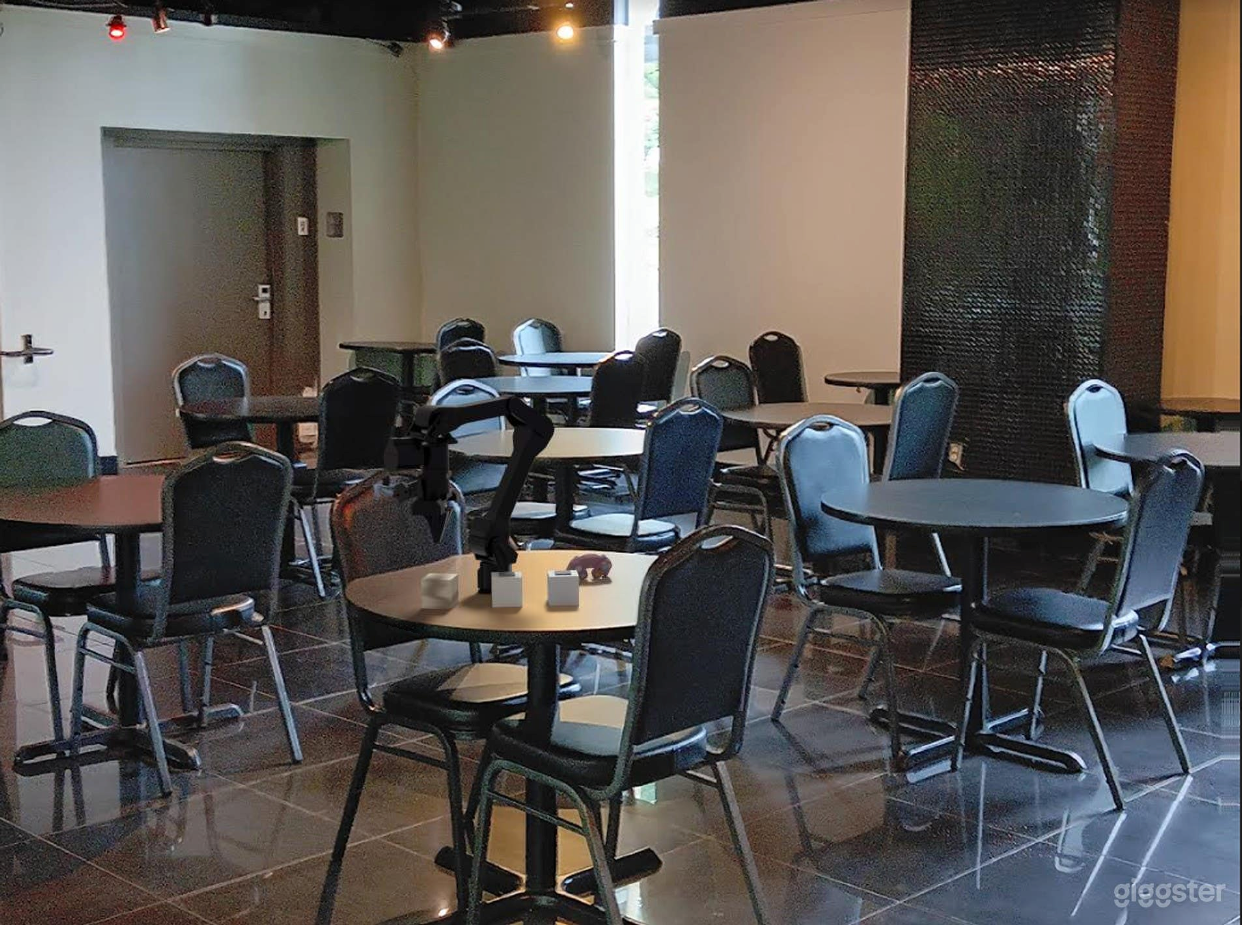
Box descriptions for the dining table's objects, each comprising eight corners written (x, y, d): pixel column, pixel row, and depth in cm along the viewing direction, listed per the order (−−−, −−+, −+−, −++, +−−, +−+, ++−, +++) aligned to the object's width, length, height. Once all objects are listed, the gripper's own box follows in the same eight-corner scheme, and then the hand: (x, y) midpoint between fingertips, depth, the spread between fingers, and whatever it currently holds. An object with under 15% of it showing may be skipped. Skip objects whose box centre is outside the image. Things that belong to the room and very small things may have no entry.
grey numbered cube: (576, 598, 316) (576, 568, 315) (579, 605, 310) (578, 574, 309) (547, 599, 315) (547, 569, 314) (549, 606, 309) (549, 575, 308)
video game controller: (568, 587, 333) (571, 562, 330) (563, 575, 337) (566, 549, 333) (611, 584, 336) (615, 559, 333) (606, 572, 340) (610, 546, 336)
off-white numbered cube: (521, 600, 314) (520, 570, 314) (522, 606, 308) (522, 576, 308) (491, 601, 314) (491, 570, 313) (492, 607, 308) (492, 576, 307)
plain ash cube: (458, 603, 312) (458, 574, 311) (450, 609, 306) (450, 580, 305) (429, 602, 313) (429, 573, 312) (421, 608, 307) (421, 579, 306)
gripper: (407, 461, 321) (409, 534, 323) (383, 473, 302) (386, 551, 304) (459, 461, 319) (461, 535, 322) (439, 474, 301) (441, 552, 303)
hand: (437, 543), depth 313 cm, fingers closed
